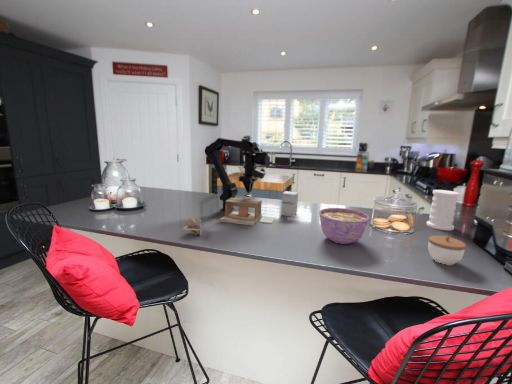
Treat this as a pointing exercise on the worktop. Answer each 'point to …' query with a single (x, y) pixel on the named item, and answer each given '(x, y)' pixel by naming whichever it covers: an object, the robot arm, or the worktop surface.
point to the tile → (267, 220)
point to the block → (243, 211)
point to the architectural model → (194, 226)
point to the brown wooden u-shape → (243, 205)
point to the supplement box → (289, 203)
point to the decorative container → (443, 209)
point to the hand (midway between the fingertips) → (249, 192)
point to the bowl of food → (343, 224)
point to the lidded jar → (446, 249)
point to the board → (240, 218)
